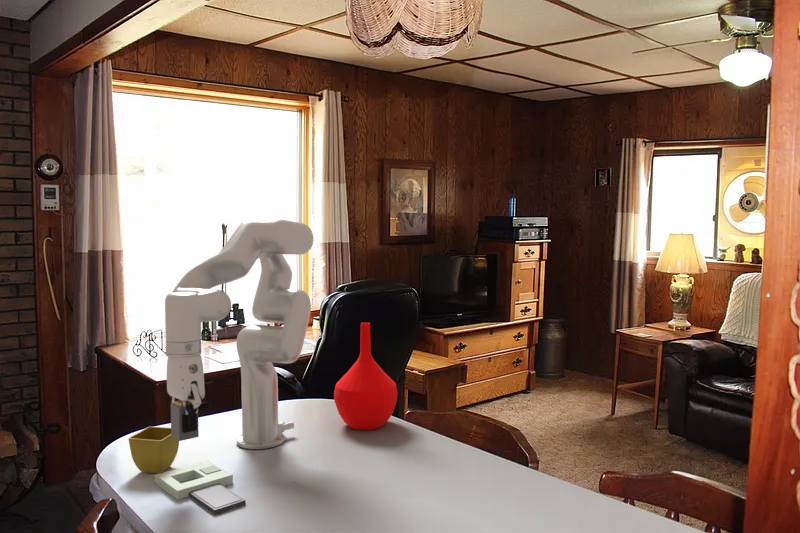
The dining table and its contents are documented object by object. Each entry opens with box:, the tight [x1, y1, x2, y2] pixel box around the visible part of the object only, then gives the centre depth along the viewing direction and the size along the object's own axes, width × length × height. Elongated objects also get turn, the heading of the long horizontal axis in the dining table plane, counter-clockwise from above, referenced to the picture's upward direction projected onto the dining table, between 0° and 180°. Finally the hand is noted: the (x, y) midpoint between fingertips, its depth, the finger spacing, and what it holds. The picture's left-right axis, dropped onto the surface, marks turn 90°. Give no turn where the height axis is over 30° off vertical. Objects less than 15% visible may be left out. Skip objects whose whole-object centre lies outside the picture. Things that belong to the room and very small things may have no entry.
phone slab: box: [189, 483, 247, 516], centre depth 141 cm, size 7×12×1 cm, turn 42°
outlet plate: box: [154, 460, 234, 501], centre depth 150 cm, size 13×12×2 cm
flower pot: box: [128, 426, 180, 474], centre depth 158 cm, size 9×9×9 cm
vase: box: [333, 322, 398, 431], centre depth 191 cm, size 18×18×30 cm
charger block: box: [170, 398, 200, 442], centre depth 148 cm, size 4×4×8 cm
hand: (184, 428), depth 148 cm, fingers closed on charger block, 4 cm apart
